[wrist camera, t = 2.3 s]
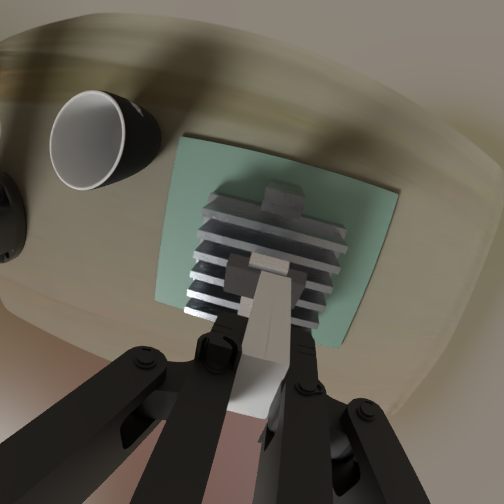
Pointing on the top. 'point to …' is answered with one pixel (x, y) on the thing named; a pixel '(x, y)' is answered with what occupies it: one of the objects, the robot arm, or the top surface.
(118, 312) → the top surface
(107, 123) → the mug
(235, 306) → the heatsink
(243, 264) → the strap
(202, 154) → the board
